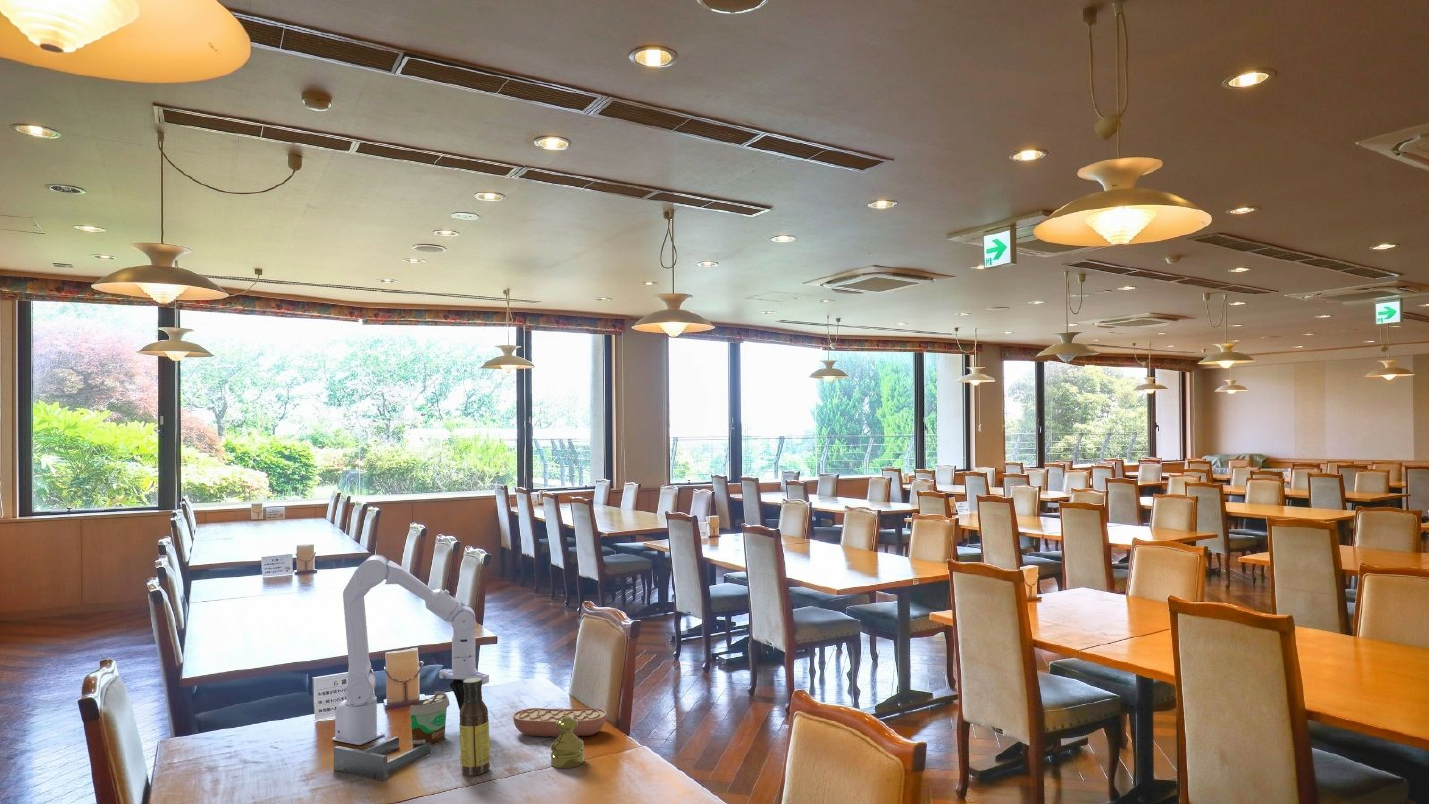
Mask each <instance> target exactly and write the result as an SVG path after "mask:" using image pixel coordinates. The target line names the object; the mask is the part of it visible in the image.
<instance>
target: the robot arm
mask: <svg viewBox="0 0 1429 804" xmlns="http://www.w3.org/2000/svg"><path fill="white" fill-rule="evenodd" d="M384 580H386V581H385V583H384V584H385V585H398V586H400V587H401V588H403V589H405V590H407V591H408V592H410V593H412V594H414V595H415V596H416V597H418V598H420V599H421V600H423V601H424V603H425V604H424V605H425V608H426V610H428V611H430V612H431V613H432V614H434V615H436V616H437V617H439V618H440V619H441V620H443V621H445V622H446V623H450V624H451V625H450V626H451V627H452V629H453V630H452V633H453V635H452V638H451V668H444V669H440V670H439V673H438V674H439V675H438V676H439V678H438V679H442V680H443V679H449V680H452V682H450V683H449V687H450V689H451V690H452V692H453V694H454V697H455V699H456V702H457V705H458V710H459V711H460V710H461V708H462V706H463V704H464V688H463V681H464V680H465V679H468V678H481V679H482V685H487V684H489V683H490V675H489V674H486V673H484V672H479V671H478V669H477V667H476V652H477V651H476V635H475V633H476V628H475V627H476V624H477V619H476V613H475V611H474V609H472V608H471V606H470V605H468V604H465V602H464V601H463V600H461V601H460V600H458V599H456V598H455V597H453V596H452V595H450V592H451V591H449V590H448V589H444V590H443V589H442V588H438V589H432V588H431V587H429V586H428V585H427V584H425V583H424V582H423V581H421V580H420V579H418V578H417V577H416V576H415V575H413V574H412V573H410V572H409V571H408V570H406V568H404V567H403V566H401V565H400V564H398V563H396V562H394V561H393V560H388V559H387V557H386V556H384V555H381V554H372V555H369V557H367V558H366V559H365V560H364V561H363V562H362V563H360V564H359V566H358V567H357V568H356V570H355V571H354V572H353V574H352V576H351V578H350V579H349V581H348V583H347V584H346V586H345V587H344V589H343V592H342V600H343V610H344V624H345V635H346V636H345V637H346V646H347V657H348V658H347V660H348V670H347V680H348V681H347V685H346V687H345V690H344V696H345V699H344V700H342V701H340V702H339V704H338V705H337V707H336V710H335V715H334V716H335V718H334V719H335V720H334V723H335V725H334V728H335V729H334V733H335V734H334V737H332V740H333V741H334V742H335V741H337V742H341V743H344V744H345V743H347V744H349V745H350V744H352V745H357V746H361V745H365V744H367V743H368V742H371V741H373V740H376V739H378V738H381V737H382V736H385V735H386V732H383V731H378V728H377V727H378V702H377V701H378V697H377V696H376V695H375V694H374V689H375V688H376V686H377V677H376V675H375V673H374V671H373V669H372V663H371V660H370V652H369V641H368V629H367V628H368V625H367V616H366V605H365V596H366V595H367V594H368V593H369V591H371V590H372V589H373V588H374V587H376V586H378V585H379V584H382V582H384Z"/></svg>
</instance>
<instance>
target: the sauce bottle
mask: <svg viewBox="0 0 1429 804" xmlns="http://www.w3.org/2000/svg"><path fill="white" fill-rule="evenodd" d="M482 686H483V684H482V679H481V678H468V679H465V680H464V681H463V688H464V704H463V706H462V708H461V710H459V725H458V726H459V747H460V748H459V749H460V751H459V752H460V753H459V754H460V764H461V773H462V774H463V775H464V776H467V777H472V776H479V775H483V774H484V773H486V772H488V771H489V769H490V768H491V767H490V766H491V764H490V760H491V754H490V753H491V751H490V746H491V745H490V721H489V709H488V706H487V705H486V704H485V702H484V700H483V694H482V688H483V687H482Z"/></svg>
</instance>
